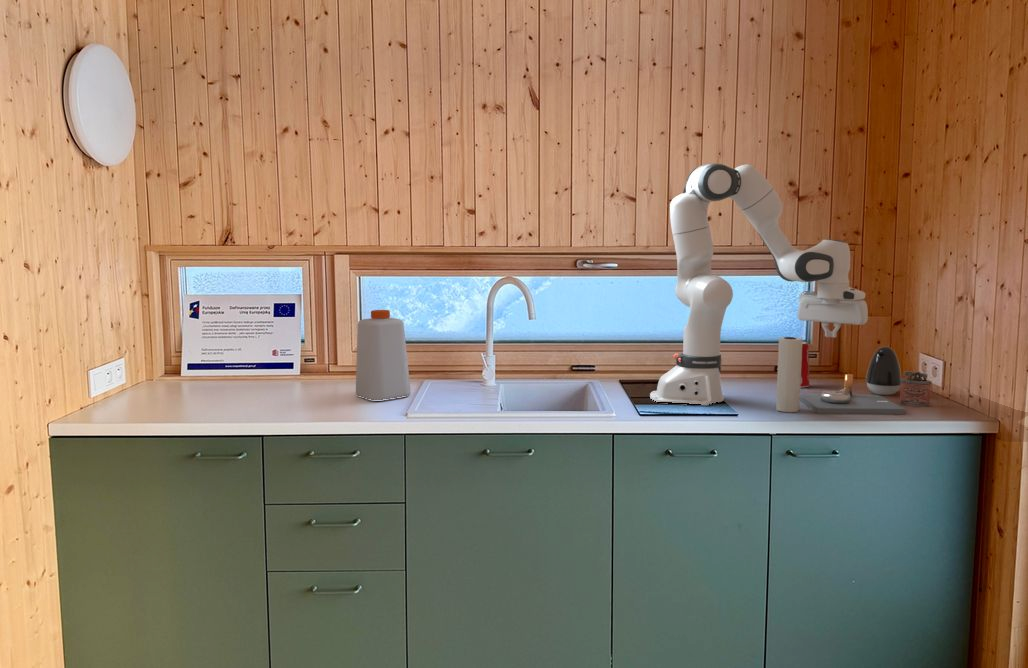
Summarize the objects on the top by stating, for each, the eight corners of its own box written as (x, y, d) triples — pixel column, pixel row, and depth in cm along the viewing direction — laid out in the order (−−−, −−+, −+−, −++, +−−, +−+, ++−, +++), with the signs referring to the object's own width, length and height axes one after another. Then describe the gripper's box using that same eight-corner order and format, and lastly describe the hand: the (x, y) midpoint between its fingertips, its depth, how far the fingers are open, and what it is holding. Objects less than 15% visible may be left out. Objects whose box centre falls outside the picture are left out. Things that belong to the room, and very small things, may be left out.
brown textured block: (930, 404, 214) (932, 371, 212) (929, 407, 211) (932, 373, 209) (899, 402, 218) (901, 369, 216) (898, 404, 215) (900, 371, 213)
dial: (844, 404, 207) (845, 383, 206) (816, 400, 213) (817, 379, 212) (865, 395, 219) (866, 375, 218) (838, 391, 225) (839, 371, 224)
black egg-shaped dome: (859, 393, 230) (861, 346, 227) (872, 388, 236) (875, 343, 234) (892, 398, 222) (895, 350, 220) (905, 393, 229) (909, 346, 227)
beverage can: (810, 388, 237) (813, 343, 235) (790, 388, 239) (792, 343, 237) (807, 384, 243) (809, 341, 241) (787, 384, 244) (788, 340, 242)
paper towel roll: (778, 412, 206) (781, 339, 203) (773, 407, 212) (776, 336, 209) (804, 413, 205) (808, 339, 202) (799, 408, 211) (802, 336, 208)
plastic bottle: (373, 404, 222) (370, 314, 218) (351, 396, 234) (347, 310, 230) (415, 396, 232) (413, 310, 228) (392, 389, 243) (389, 307, 239)
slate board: (817, 413, 205) (817, 407, 205) (797, 399, 223) (798, 394, 222) (904, 414, 203) (905, 408, 203) (878, 399, 221) (878, 394, 220)
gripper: (795, 291, 225) (793, 335, 227) (863, 294, 211) (860, 341, 213) (803, 290, 229) (801, 333, 231) (871, 293, 215) (868, 339, 217)
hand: (830, 337), depth 222 cm, fingers closed
